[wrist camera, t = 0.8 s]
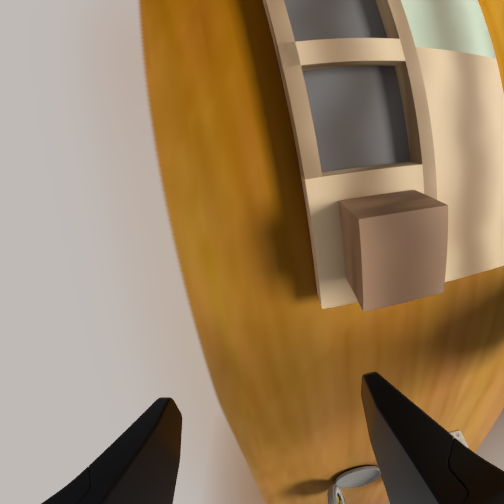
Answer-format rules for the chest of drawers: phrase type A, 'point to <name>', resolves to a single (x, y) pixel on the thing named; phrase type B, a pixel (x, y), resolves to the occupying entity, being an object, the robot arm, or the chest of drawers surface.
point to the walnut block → (394, 247)
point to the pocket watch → (351, 482)
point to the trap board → (394, 120)
